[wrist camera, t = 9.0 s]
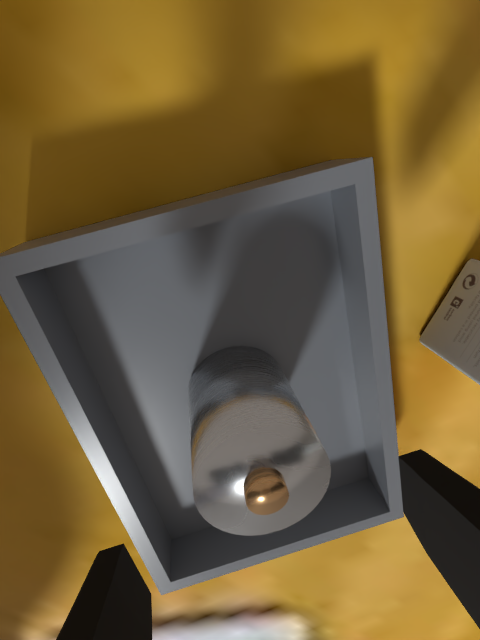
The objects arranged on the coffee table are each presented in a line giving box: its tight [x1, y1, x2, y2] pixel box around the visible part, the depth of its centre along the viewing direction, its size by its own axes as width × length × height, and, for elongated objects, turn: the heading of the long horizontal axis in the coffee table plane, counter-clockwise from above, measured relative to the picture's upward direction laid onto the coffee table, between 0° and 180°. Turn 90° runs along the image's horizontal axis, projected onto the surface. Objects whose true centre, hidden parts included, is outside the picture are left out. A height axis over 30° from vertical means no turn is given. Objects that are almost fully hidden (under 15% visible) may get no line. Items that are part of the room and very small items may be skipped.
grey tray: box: [0, 157, 404, 595], centre depth 15 cm, size 11×15×3 cm
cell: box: [188, 346, 331, 536], centre depth 13 cm, size 4×4×6 cm
